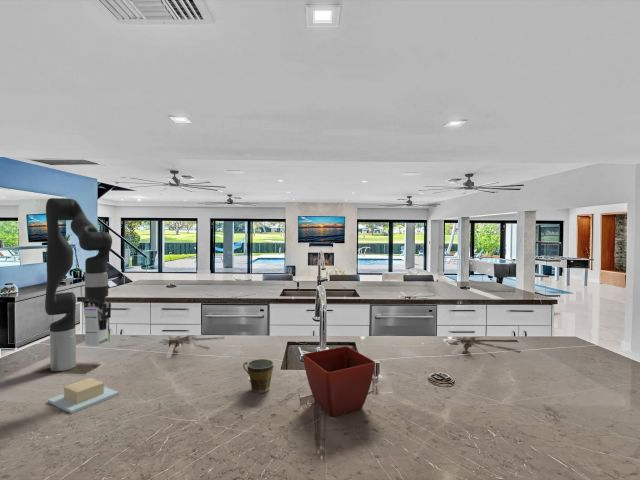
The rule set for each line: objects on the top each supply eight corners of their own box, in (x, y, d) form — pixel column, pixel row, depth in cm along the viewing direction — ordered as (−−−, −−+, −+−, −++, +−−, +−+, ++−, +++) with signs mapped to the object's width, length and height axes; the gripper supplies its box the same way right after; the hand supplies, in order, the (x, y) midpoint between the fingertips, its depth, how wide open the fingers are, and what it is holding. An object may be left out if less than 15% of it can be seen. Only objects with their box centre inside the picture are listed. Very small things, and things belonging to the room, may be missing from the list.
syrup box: (98, 346, 132) (97, 307, 132) (84, 345, 133) (84, 306, 133) (110, 341, 138) (109, 304, 137) (96, 340, 139) (96, 303, 139)
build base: (48, 402, 127) (47, 388, 127) (95, 385, 141) (94, 372, 141) (71, 413, 119) (71, 398, 119) (118, 394, 133) (118, 381, 133)
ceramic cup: (278, 386, 141) (278, 361, 140) (264, 397, 131) (264, 370, 131) (251, 380, 146) (251, 356, 146) (235, 390, 137) (235, 364, 137)
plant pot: (326, 425, 113) (327, 372, 112) (301, 399, 130) (301, 353, 129) (376, 411, 122) (376, 362, 121) (346, 389, 139) (346, 345, 138)
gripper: (75, 284, 135) (76, 328, 135) (97, 287, 128) (98, 333, 129) (95, 282, 142) (96, 324, 142) (117, 284, 135) (118, 328, 135)
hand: (97, 328), depth 135 cm, fingers closed on syrup box, 6 cm apart
